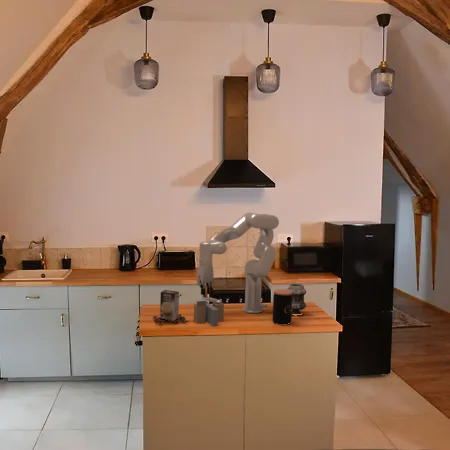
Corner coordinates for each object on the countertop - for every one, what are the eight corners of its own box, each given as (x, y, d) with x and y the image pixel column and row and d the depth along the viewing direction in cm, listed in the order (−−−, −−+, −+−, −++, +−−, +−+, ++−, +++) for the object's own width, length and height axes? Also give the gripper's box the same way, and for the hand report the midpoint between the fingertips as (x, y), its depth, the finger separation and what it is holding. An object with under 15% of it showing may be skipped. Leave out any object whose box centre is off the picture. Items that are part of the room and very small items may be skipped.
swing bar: (222, 303, 289) (223, 289, 288) (218, 304, 286) (218, 290, 285) (205, 298, 299) (205, 284, 298) (201, 299, 296) (201, 285, 295)
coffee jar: (286, 326, 281) (287, 294, 279) (268, 323, 287) (270, 291, 285) (294, 322, 290) (295, 291, 288) (277, 319, 296) (278, 288, 294)
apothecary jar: (298, 310, 316) (300, 282, 314) (309, 316, 305) (310, 286, 303) (281, 312, 311) (282, 283, 309) (291, 317, 300) (293, 287, 298)
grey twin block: (215, 315, 300) (216, 294, 299) (228, 324, 281) (229, 302, 280) (189, 317, 294) (190, 296, 293) (201, 327, 275) (201, 304, 274)
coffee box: (159, 320, 287) (159, 291, 285) (164, 317, 293) (164, 289, 291) (174, 322, 284) (174, 293, 282) (178, 319, 290) (179, 291, 288)
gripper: (210, 260, 303) (209, 291, 305) (191, 263, 290) (190, 295, 292) (219, 262, 298) (219, 293, 300) (200, 265, 286) (200, 297, 287)
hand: (205, 294), depth 296 cm, fingers open, 2 cm apart
